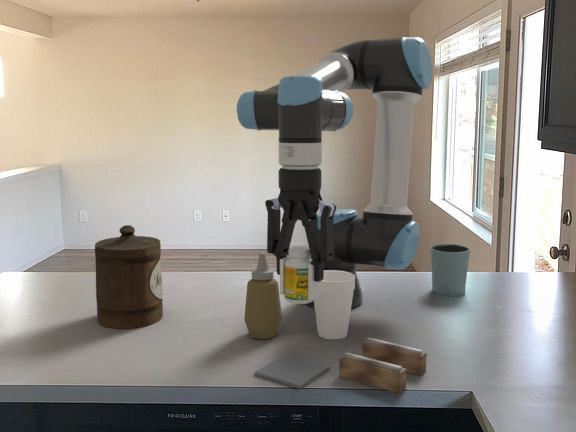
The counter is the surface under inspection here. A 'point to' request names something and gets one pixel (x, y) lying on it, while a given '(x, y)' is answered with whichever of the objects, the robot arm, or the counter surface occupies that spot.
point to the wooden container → (128, 280)
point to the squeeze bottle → (262, 302)
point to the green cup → (449, 268)
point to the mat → (292, 371)
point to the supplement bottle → (297, 275)
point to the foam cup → (334, 304)
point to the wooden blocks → (383, 364)
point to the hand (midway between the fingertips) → (299, 295)
